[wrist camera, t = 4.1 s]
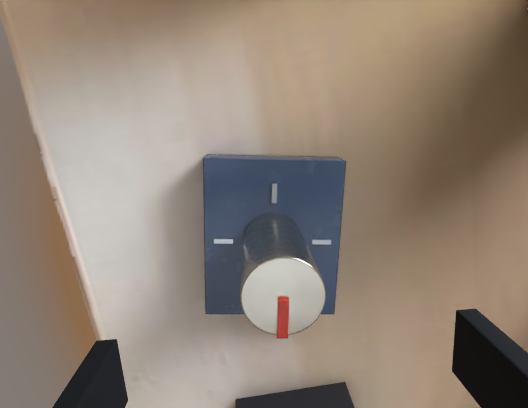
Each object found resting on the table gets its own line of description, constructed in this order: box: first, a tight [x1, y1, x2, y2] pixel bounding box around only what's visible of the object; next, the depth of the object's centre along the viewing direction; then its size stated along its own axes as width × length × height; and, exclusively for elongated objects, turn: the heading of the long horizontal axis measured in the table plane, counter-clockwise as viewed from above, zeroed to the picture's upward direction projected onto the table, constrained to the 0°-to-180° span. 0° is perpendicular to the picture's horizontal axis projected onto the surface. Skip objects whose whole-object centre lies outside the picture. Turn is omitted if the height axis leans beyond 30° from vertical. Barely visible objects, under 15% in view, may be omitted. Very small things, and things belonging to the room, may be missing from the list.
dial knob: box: [240, 213, 326, 338], centre depth 23 cm, size 4×4×9 cm
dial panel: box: [203, 154, 346, 314], centre depth 28 cm, size 12×10×3 cm
